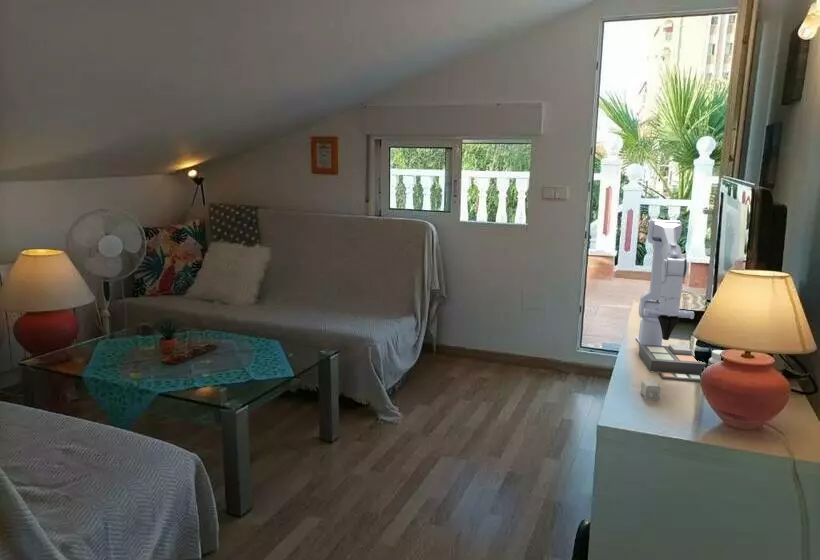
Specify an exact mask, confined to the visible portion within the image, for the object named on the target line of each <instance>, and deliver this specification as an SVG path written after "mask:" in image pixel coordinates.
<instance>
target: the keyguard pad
mask: <svg viewBox="0 0 820 560" xmlns="http://www.w3.org/2000/svg"><path fill="white" fill-rule="evenodd" d="M647 346H648V347H663V348H665V350H666V351H667V352H668V353H659V352H650V351H649V350H648V349H647ZM638 348H639V349H638V356H639V357H640V359H641V360H642V362H643V363H644V365H645V366H646V367H647V369H648V370H649V372H650V371H654V372H653V373H673V374H687V375H700V374H701V372H702V369H703V368H704V367H705V366H706V367H707V363H706V362H705V361H704V362H702V361H699V360H698V362H689V361H679V360H678V359H677V358H676V357H675V355H685V356H693V357H694V355H693V352H691V355H688V354H673V353H672V352H671V351H670V350H669V345H664V346H657V345H642V344H640V343H639V347H638ZM688 348H689V349H690V350H691V351H692V350H693V349H692V348H691V347H688ZM652 353H655V354H670V355H671V357H672V358H673V359H674V360H675V361H674V360H660V359H655V358H654V356H653V355H652Z"/></svg>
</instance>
